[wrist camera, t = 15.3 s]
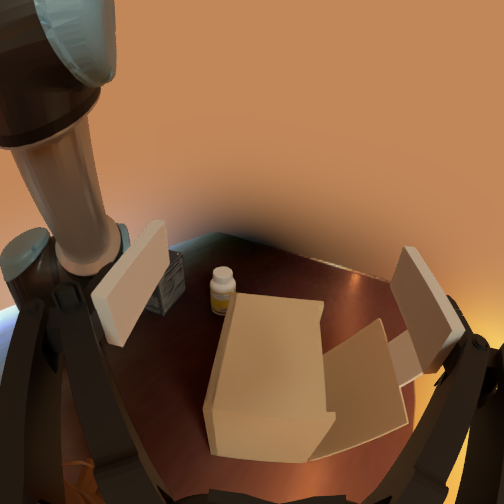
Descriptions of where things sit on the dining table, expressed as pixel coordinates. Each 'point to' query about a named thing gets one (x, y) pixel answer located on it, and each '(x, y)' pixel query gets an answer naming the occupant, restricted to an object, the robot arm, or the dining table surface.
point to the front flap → (366, 387)
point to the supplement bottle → (221, 289)
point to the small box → (168, 286)
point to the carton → (268, 381)
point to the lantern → (83, 486)
